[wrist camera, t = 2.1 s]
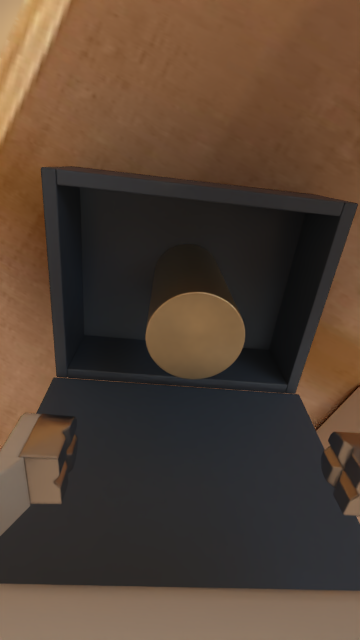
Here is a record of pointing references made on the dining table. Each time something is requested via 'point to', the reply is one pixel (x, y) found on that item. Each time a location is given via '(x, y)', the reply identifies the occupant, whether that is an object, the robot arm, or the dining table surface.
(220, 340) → the tin
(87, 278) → the chest
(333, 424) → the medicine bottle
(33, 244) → the dining table surface
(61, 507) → the lid
